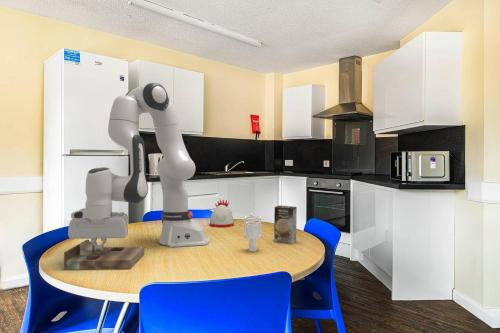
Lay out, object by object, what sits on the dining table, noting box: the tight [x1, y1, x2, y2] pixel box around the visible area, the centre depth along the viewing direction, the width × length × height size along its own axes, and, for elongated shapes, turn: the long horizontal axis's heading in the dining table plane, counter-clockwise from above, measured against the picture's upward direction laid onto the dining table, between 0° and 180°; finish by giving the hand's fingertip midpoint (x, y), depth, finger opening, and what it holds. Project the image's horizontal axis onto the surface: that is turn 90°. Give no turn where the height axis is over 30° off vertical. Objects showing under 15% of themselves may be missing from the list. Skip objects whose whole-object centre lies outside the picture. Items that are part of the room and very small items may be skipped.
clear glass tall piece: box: [243, 212, 262, 252], centre depth 140 cm, size 7×7×15 cm
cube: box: [79, 241, 96, 255], centre depth 123 cm, size 4×4×4 cm
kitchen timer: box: [209, 199, 235, 229], centre depth 195 cm, size 14×14×15 cm
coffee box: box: [273, 205, 298, 245], centre depth 156 cm, size 9×6×16 cm
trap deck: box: [63, 239, 145, 271], centre depth 124 cm, size 22×18×6 cm
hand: (98, 250), depth 123 cm, fingers closed
